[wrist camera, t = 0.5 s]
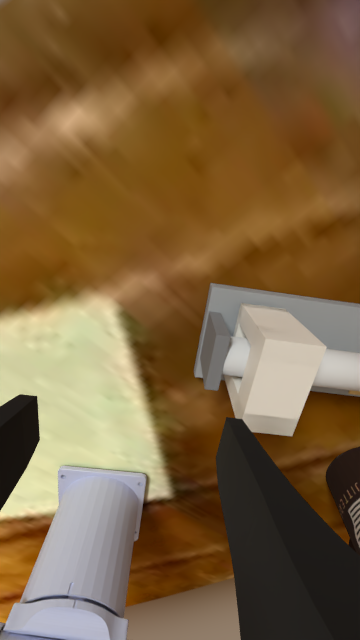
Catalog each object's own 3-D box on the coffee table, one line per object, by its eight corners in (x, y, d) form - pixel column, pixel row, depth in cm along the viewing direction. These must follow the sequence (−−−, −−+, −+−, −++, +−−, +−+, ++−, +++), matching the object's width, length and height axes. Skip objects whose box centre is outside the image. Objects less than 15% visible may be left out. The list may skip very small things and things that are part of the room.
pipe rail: (386, 393, 22) (440, 439, 18) (194, 369, 21) (198, 412, 17) (427, 313, 20) (502, 344, 15) (210, 282, 19) (221, 306, 14)
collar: (263, 379, 20) (292, 436, 15) (223, 375, 20) (239, 430, 15) (285, 309, 18) (326, 347, 13) (241, 302, 18) (265, 338, 13)
